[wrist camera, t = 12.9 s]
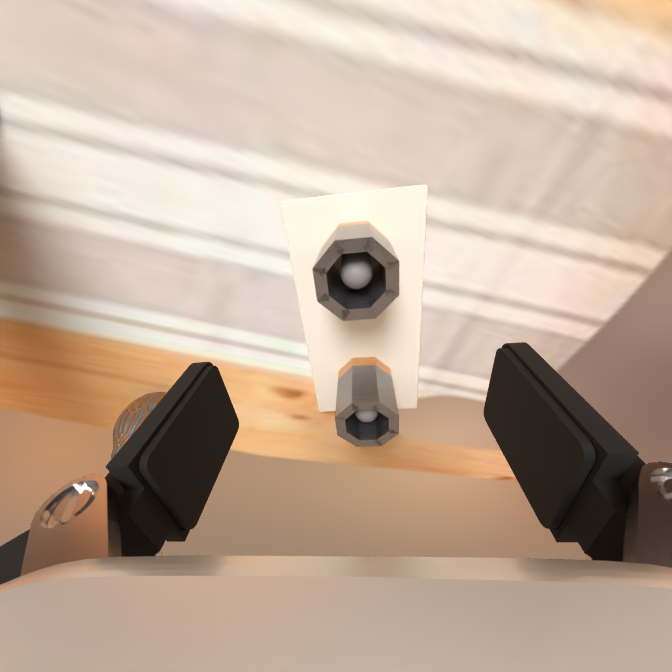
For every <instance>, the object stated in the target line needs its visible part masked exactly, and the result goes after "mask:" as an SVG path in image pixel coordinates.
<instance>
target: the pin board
mask: <svg viewBox="0 0 672 672" xmlns="http://www.w3.org/2000/svg"><path fill="white" fill-rule="evenodd" d="M280 205H281V210H282V216H283V221H284V226H285V232H286V237H287V242H288V248H289V253H290V258H291V264H292V269H293V274H294V280H295V285H296V290H297V296H298V301H299V306H300V312H301V317H302V322H303V328H304V333H305V338H306V344H307V349H308V355H309V360H310V365H311V371H312V376H313V381H314V387H315V392H316V397H317V403H318V408H319V412H325V411H335V410H336V398H337V385H338V373H339V370H340V369H341V368H342V367H343V366H344V365H345V364H346V363H348V362H349V361H350V360H351V359H352V358H359V357H376V358H377V359H378V360H380V361H381V362H382V363H384V364H385V365H386V366H388V367H389V368H390V370H391V375H392V381H393V386H394V392H395V397H396V403H397V408H398V409H407V408H417V391H418V371H419V350H420V329H421V309H422V288H423V267H424V247H425V226H426V205H427V185H424V184H423V185H414V186H406V187H397V188H389V189H380V190H372V191H363V192H354V193H346V194H337V195H329V196H320V197H311V198H303V199H294V200H286V201H282V202H280ZM366 220H368V221H369V222H370V223H371V224H372V225H373V226H374V227H376V228H377V229H378V230H379V231H380V232H381V233H382V234H383V235H384V236H385V237H387V238H388V239H389V241H390V243H391V245H392V247H393V249H394V251H395V253H396V255H397V257H398V259H399V296H398V297H397V298H396V299H395V300H394V301H393V302H392V303H391V304H390V305H389V306H388V307H387V308H386V309H385V310H384V311H383V312H382V313H381V314H380V315H379V316H378V317H377V318H376V319H364V320H350V321H342V320H341V319H340V318H338V317H337V316H336V315H334V314H333V313H332V312H330V311H329V310H328V309H326V308H325V307H324V306H322V305H321V304H320V303H318V302H317V297H316V290H315V284H314V277H313V270H312V268H313V266H314V264H315V261H316V259H317V257H318V255H319V252H320V250H321V248H322V246H323V244H324V243H325V242H326V240H327V239H328V238H329V236H330V235H331V234H332V233H333V231H334V230H335V229H336V227H337V226H338V225H339V223H348V222H357V221H366ZM378 263H379V262H378V261H377V260H376V259H375V258H374V257H373V256H371V255H370V254H369V253H368V252H358V253H347V254H341V255H340V257H339V258H338V259H337V260H336V262H335V268H337V269H338V270H339V271H340V274H341V279H342V281H343V282H344V284H345V285H346V286H348V287H350V288H352V289H360V288H363V287H365V286H366V285H367V284H368V283H369V282H370V280H371V278H372V274H373V271H372V270H373V269H374V268H375V267H376V265H377V264H378ZM355 415H356V417H357V418H358V419H359V420H360V421H362V422H371V421H373V420H375V419H376V417H377V415H378V411H377V410H375V409H374V410H356V411H355Z"/></svg>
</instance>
